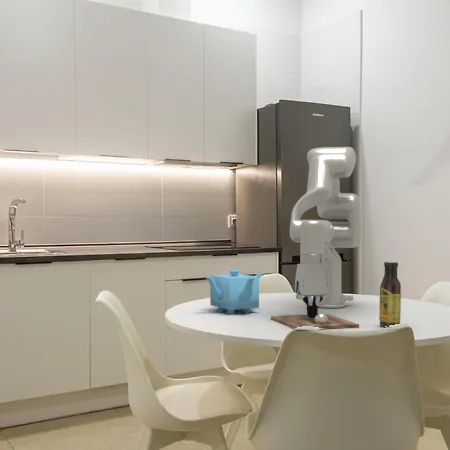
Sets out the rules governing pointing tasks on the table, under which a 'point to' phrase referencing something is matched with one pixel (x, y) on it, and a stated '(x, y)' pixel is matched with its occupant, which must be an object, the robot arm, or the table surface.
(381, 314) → the sauce bottle
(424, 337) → the table surface
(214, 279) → the teakettle
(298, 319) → the walnut board
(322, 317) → the steel ball
